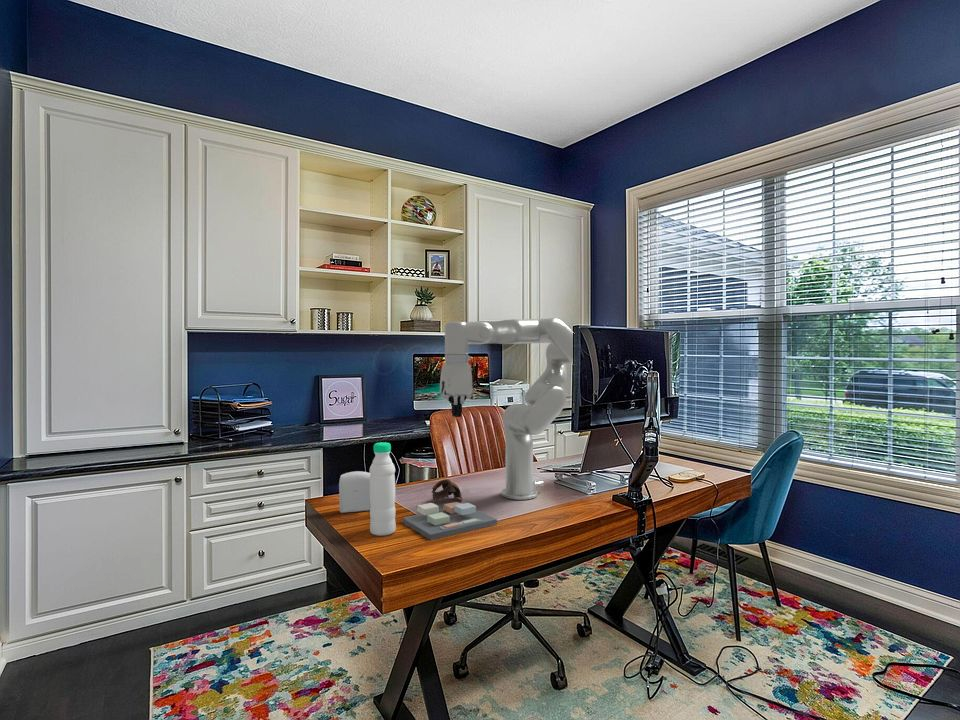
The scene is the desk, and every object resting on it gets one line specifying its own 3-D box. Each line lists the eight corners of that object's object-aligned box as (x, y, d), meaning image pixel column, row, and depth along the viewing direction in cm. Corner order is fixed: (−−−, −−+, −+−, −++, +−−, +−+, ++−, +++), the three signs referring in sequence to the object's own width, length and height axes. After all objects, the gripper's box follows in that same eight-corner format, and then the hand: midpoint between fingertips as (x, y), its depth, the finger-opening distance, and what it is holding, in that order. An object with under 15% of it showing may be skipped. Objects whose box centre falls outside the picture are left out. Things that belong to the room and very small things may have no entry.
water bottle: (365, 532, 149) (364, 443, 148) (386, 526, 154) (385, 440, 153) (379, 538, 144) (378, 446, 143) (400, 532, 149) (400, 443, 148)
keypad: (465, 509, 169) (465, 503, 169) (497, 524, 155) (497, 517, 155) (402, 522, 157) (402, 516, 157) (430, 540, 143) (430, 532, 143)
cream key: (431, 508, 160) (431, 502, 160) (438, 512, 157) (438, 506, 157) (417, 511, 158) (417, 505, 158) (424, 515, 154) (424, 509, 154)
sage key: (441, 518, 155) (441, 512, 155) (449, 522, 152) (449, 516, 152) (427, 521, 153) (427, 515, 153) (434, 525, 149) (434, 519, 149)
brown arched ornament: (465, 505, 175) (454, 486, 172) (440, 518, 175) (428, 499, 173) (462, 487, 186) (452, 468, 184) (438, 499, 187) (427, 480, 184)
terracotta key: (457, 507, 166) (457, 501, 165) (464, 511, 162) (464, 505, 162) (443, 510, 163) (443, 504, 163) (451, 514, 159) (451, 508, 159)
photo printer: (339, 514, 165) (338, 474, 165) (339, 509, 169) (339, 471, 169) (373, 511, 168) (372, 472, 167) (372, 507, 172) (372, 469, 172)
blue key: (467, 508, 160) (467, 502, 160) (475, 512, 157) (475, 506, 157) (454, 511, 158) (454, 505, 158) (462, 515, 154) (462, 509, 154)
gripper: (469, 359, 179) (470, 413, 180) (430, 360, 171) (431, 417, 171) (482, 359, 173) (482, 416, 173) (442, 360, 165) (442, 419, 165)
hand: (456, 416), depth 172 cm, fingers closed
